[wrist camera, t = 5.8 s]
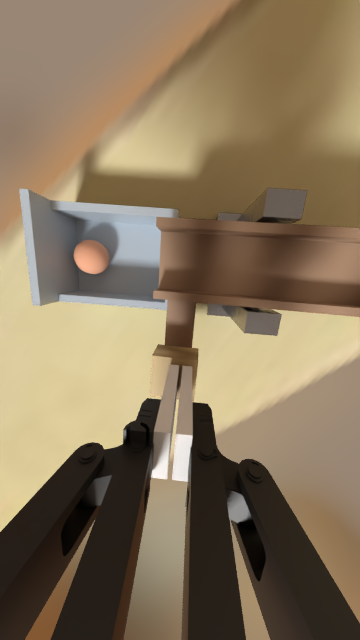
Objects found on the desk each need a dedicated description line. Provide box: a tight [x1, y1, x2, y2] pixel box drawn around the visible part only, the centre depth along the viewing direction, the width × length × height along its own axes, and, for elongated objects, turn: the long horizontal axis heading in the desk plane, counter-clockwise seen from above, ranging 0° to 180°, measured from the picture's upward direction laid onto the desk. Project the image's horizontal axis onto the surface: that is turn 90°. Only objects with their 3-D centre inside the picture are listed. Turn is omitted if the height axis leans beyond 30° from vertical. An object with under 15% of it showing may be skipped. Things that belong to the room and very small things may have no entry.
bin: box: [19, 189, 179, 310], centre depth 19 cm, size 12×9×7 cm
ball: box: [74, 240, 109, 274], centre depth 21 cm, size 3×3×3 cm
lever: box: [150, 217, 360, 401], centre depth 15 cm, size 18×14×3 cm
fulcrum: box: [207, 188, 307, 336], centre depth 18 cm, size 13×11×10 cm
